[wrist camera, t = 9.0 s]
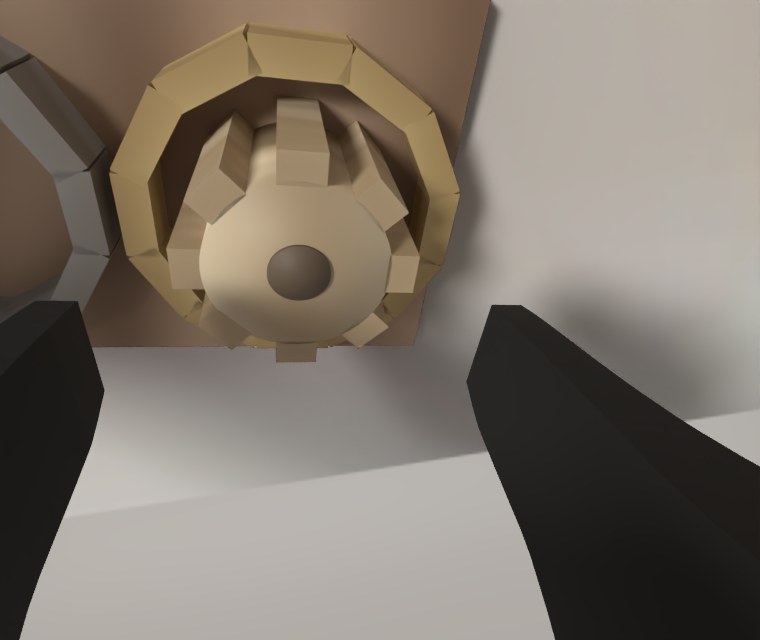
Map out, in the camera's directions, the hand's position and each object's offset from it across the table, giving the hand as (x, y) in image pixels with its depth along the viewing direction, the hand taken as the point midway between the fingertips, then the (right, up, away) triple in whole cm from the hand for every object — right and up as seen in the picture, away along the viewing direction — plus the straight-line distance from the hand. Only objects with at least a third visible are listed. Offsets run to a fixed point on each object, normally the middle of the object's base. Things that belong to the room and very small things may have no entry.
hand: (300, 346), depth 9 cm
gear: (-1, +4, +5) cm, 6 cm away
